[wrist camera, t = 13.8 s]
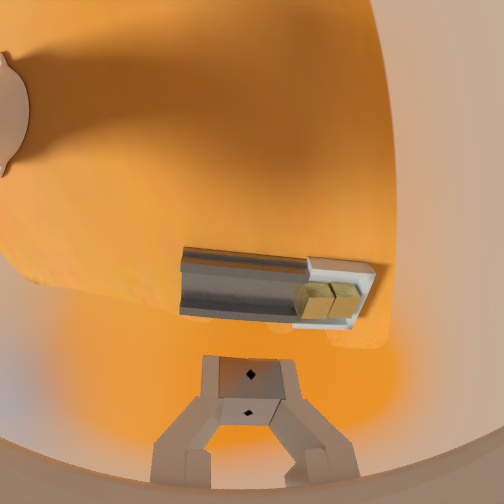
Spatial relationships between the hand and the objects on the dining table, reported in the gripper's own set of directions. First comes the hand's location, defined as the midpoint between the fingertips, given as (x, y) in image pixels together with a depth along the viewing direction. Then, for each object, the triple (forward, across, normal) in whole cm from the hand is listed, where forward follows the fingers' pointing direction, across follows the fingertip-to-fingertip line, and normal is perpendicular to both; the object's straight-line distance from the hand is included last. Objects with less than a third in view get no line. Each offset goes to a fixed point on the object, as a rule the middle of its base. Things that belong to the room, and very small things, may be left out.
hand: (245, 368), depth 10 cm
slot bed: (+29, -3, +18) cm, 34 cm away
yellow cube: (+29, -18, +18) cm, 38 cm away
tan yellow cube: (+28, -14, +18) cm, 36 cm away
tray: (+29, -17, +18) cm, 38 cm away
